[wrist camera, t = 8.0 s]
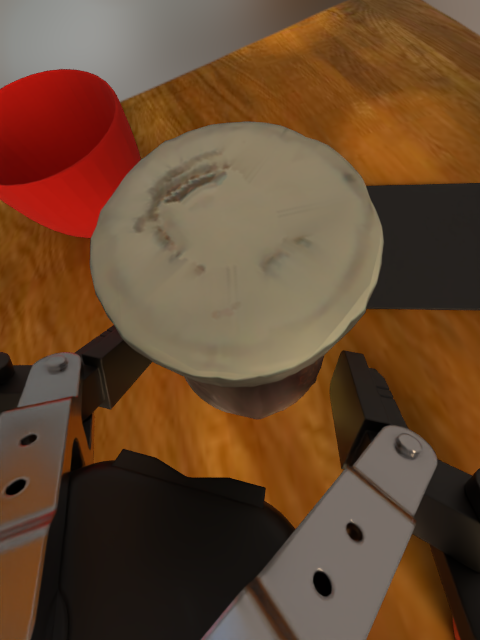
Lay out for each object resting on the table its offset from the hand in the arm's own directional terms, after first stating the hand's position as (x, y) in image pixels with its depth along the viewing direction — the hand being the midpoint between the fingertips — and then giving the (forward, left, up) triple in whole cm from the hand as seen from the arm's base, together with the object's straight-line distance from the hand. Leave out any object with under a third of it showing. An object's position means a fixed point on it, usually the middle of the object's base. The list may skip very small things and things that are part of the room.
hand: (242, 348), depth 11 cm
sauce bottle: (0, 0, -12) cm, 12 cm away
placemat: (-13, -13, -12) cm, 22 cm away
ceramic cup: (+19, -17, -12) cm, 28 cm away
